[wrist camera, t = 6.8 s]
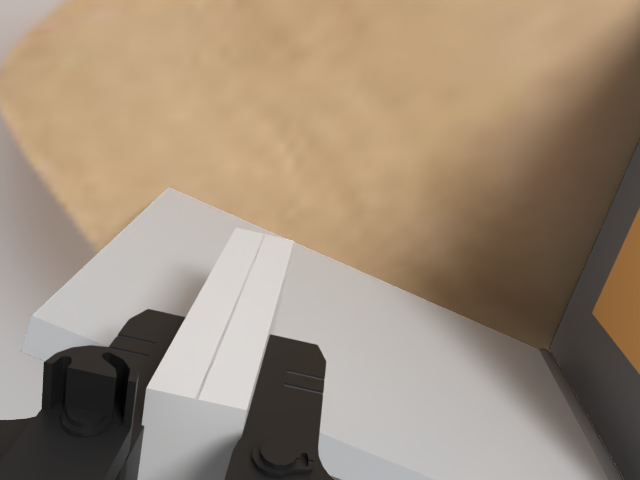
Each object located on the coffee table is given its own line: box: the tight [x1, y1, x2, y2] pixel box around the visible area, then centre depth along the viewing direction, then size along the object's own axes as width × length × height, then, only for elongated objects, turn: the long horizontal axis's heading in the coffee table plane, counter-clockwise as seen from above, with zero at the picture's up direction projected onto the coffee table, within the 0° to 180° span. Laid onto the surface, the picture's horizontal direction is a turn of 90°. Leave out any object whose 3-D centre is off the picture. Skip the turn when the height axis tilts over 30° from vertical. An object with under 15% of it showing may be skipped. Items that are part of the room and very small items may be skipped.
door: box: [21, 187, 624, 480], centre depth 19 cm, size 17×2×10 cm, turn 66°
